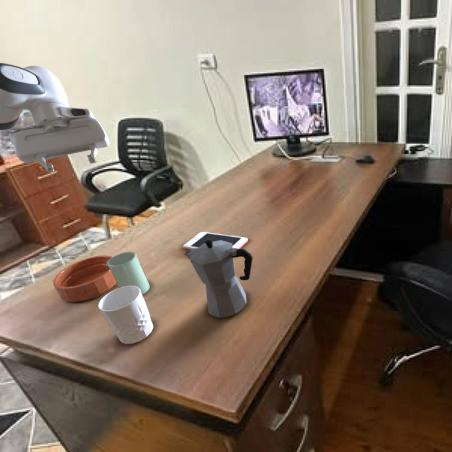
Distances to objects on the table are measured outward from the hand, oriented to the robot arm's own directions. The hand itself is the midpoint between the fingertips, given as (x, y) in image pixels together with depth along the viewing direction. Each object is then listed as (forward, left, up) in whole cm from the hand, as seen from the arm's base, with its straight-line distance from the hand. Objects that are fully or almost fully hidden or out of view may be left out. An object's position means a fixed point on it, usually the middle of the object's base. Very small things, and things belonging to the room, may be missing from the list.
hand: (72, 166), depth 90 cm
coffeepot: (+4, -47, -30) cm, 56 cm away
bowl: (-10, -7, -29) cm, 32 cm away
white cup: (-13, -35, -30) cm, 48 cm away
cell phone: (+20, -21, -29) cm, 42 cm away
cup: (-5, -21, -29) cm, 36 cm away
